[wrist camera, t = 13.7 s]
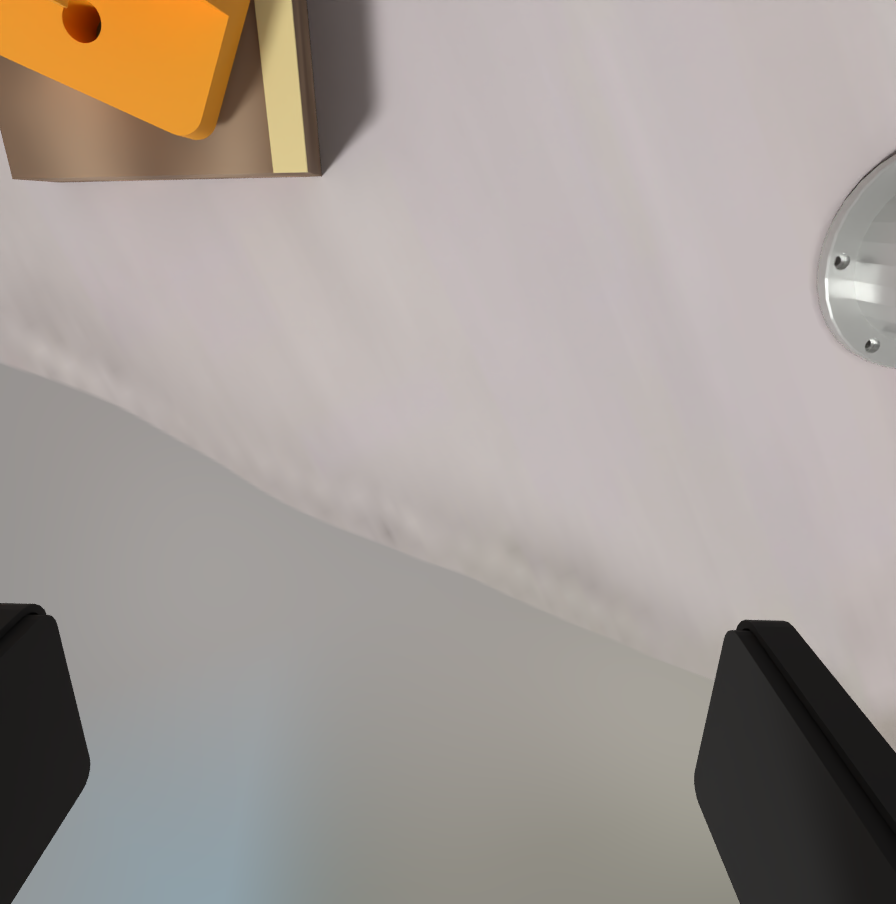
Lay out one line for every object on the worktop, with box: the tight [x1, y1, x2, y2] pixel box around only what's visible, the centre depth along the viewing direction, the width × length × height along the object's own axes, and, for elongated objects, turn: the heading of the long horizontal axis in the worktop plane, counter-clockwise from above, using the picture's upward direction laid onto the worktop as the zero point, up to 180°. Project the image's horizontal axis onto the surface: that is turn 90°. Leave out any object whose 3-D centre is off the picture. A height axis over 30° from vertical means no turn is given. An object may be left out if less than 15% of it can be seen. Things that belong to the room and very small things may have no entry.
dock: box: [0, 0, 322, 182], centre depth 29 cm, size 14×14×4 cm
